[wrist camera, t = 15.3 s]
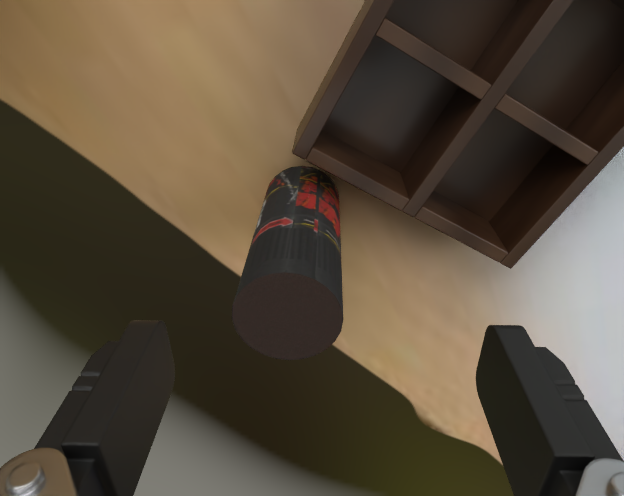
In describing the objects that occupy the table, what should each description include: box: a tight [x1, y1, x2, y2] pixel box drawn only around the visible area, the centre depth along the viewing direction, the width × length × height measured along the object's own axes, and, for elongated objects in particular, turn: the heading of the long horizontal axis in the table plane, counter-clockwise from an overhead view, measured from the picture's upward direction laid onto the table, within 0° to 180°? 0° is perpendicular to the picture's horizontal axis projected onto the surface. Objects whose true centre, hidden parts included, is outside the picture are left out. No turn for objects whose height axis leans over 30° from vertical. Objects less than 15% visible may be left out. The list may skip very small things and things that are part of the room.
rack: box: [292, 0, 624, 268], centre depth 30 cm, size 18×18×5 cm
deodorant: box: [232, 166, 343, 360], centre depth 31 cm, size 6×6×15 cm
